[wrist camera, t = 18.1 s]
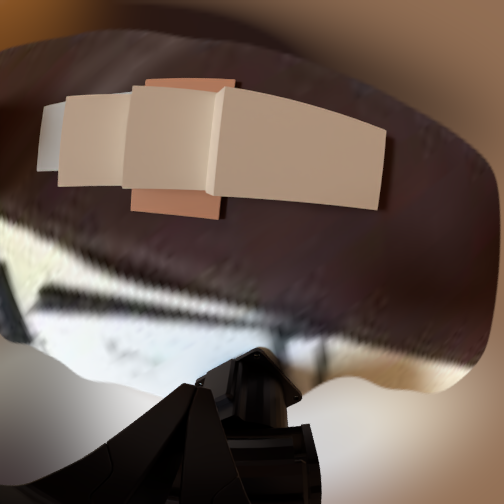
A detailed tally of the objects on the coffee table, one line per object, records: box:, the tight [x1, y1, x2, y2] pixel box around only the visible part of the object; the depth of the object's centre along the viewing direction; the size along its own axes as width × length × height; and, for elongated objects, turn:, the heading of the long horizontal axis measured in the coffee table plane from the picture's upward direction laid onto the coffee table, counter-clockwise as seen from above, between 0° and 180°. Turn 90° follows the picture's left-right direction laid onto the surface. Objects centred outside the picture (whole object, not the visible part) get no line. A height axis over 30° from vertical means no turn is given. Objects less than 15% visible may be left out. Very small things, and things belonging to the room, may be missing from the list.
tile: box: [131, 78, 236, 220], centre depth 17 cm, size 9×6×1 cm, turn 173°
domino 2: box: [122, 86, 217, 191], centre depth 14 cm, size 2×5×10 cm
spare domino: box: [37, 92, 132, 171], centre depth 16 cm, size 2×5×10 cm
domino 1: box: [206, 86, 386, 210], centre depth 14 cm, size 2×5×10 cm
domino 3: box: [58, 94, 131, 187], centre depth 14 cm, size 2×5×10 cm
